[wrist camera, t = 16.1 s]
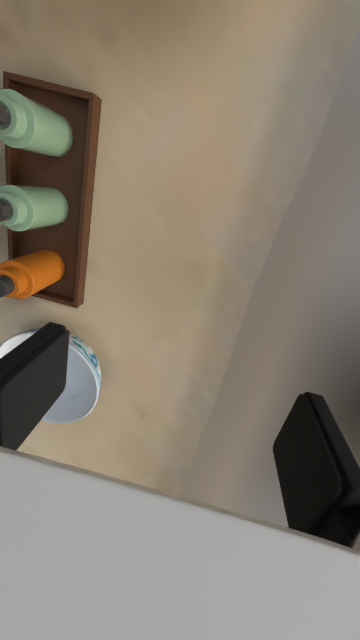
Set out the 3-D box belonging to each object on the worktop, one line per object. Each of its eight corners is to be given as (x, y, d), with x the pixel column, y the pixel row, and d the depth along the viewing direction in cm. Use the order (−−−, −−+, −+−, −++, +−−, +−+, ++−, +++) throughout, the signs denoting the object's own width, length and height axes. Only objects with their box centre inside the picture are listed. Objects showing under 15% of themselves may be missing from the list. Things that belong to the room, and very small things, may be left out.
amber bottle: (34, 245, 39) (-26, 261, 29) (66, 254, 39) (16, 273, 29) (34, 277, 41) (-23, 301, 31) (64, 285, 41) (16, 312, 31)
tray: (15, 77, 32) (2, 70, 30) (101, 99, 32) (94, 93, 30) (18, 285, 42) (9, 289, 41) (83, 303, 42) (77, 308, 40)
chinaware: (65, 291, 42) (34, 311, 35) (135, 362, 45) (119, 392, 38) (11, 345, 47) (-26, 371, 40) (77, 404, 50) (54, 438, 43)
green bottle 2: (35, 182, 36) (-33, 177, 26) (69, 191, 36) (14, 190, 26) (34, 220, 38) (-29, 228, 28) (67, 228, 37) (15, 240, 28)
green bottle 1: (35, 106, 32) (-42, 69, 23) (74, 116, 32) (12, 83, 23) (35, 152, 34) (-37, 135, 25) (71, 161, 34) (14, 148, 25)
